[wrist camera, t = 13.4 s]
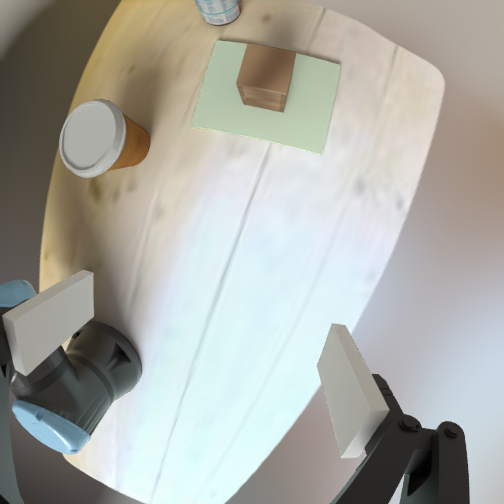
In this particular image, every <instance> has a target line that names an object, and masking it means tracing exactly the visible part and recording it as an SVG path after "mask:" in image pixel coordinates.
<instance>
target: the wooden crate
mask: <svg viewBox="0 0 504 504" xmlns="http://www.w3.org/2000/svg"><path fill="white" fill-rule="evenodd" d="M295 58H296V52H293V51H289V50H284V49H279V48H274V47H268V46H262V45H256V44H249V43H248V44H247V47H246V50H245V54H244V57H243V60H242V64H241V67H240V71H239V74H238V78H237V82H236V85H237V88H238V91H239V94H240V96H241V99H242V102H243V104H244V105H248V106H253V107H258V108H263V109H268V110H273V111H277V112H282V113H284V108H285V104H286V100H287V96H288V91H289V87H290V83H291V79H292V74H293V68H294V63H295Z"/></svg>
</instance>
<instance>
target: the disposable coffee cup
mask: <svg viewBox="0 0 504 504" xmlns="http://www.w3.org/2000/svg"><path fill="white" fill-rule="evenodd" d="M149 145H150V140H149V136H148V134H147V132H146V131H145V130H144V129H143V128H142V127H140V126H139V125H137V124H136V123H135V122H133V121H132V120H131V119H129V118H128V117H127V116H125V115H124V114H123V113H121V111H120V109H119V108H118V107H117V106H116V105H115V104H114V103H112V102H111V101H109V100H104V99H97V100H93V101H89V102H86V103H83V104H81V105H80V106H78V107H77V108H76V109H74V110H73V111H72V113H71V114H70V115H69V116H68V118H67V119H66V121H65V123H64V125H63V128H62V131H61V134H60V139H59V150H60V155H61V158H62V160H63V163H64V164H65V165H66V167H67V168H68V169H70V170H71V171H72V172H73V173H74V174H76V175H78V176H80V177H85V178H90V177H95V176H98V175H100V174H102V173H103V172H105V171H110V170H114V169H119V168H125V167H130V166H135V165H137V164H139V163H140V162H141V161H142V160H143V159H144V158H145V157H146V155H147V153H148V150H149Z"/></svg>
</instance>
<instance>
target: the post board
mask: <svg viewBox="0 0 504 504" xmlns="http://www.w3.org/2000/svg"><path fill="white" fill-rule="evenodd" d="M246 47H247V44H245V43H237V42H229V41H220V40H216V43H215V46H214V49H213V52H212V55H211V58H210V61H209V64H208V68H207V71H206V74H205V77H204V80H203V84H202V87H201V91H200V94H199V98H198V101H197V105H196V108H195V112H194V116H193V120H192V123H191V126H192V127H195V128H201V129H207V130H213V131H219V132H224V133H229V134H235V135H240V136H245V137H249V138H254V139H259V140H263V141H267V142H272V143H276V144H280V145H284V146H288V147H292V148H296V149H300V150H304V151H307V152H311V153H314V154H318V155H322V153H323V149H324V144H325V140H326V136H327V131H328V127H329V122H330V117H331V113H332V108H333V103H334V99H335V94H336V89H337V84H338V79H339V74H340V69H341V65H338V64H335V63H332V62H328V61H325V60H321V59H318V58H314V57H310V56H306V55H302V54H298V53H296V58H295V63H294V68H293V74H292V79H291V83H290V87H289V91H288V96H287V100H286V104H285V108H284V113H282V112H277V111H273V110H268V109H263V108H258V107H253V106H248V105H244V104H243V102H242V99H241V96H240V94H239V91H238V88H237V85H236V82H237V78H238V74H239V71H240V67H241V64H242V60H243V57H244V54H245V50H246Z"/></svg>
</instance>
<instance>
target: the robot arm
mask: <svg viewBox="0 0 504 504" xmlns="http://www.w3.org/2000/svg"><path fill="white" fill-rule="evenodd" d="M93 317H94V296H93V272H89V271H86V270H81V271H80V272H78V273H76V274H74V275H72V276H70V277H68V278H66V279H65V280H63V281H61V282H59V283H57V284H55V285H54V286H52V287H50V288H48V289H46V290H45V291H43V292H41V293H39V294H38V295H36V293H35V291H34V289H33V287H32V285H31V284H30V283H29V282H28V281H25V280H16V281H12V282H8V283H4V284H1V285H0V504H24V502H23V500H22V498H21V496H20V494H19V490H18V485H17V480H16V475H15V469H14V463H13V456H12V447H11V438H10V425H9V388H10V389H11V391H12V392H13V394H14V395H15V397H16V399H17V400H15V401H14V402H13V406H12V410H13V412H14V413H15V417H16V418H17V419H18V421H19V422H20V423H21V424H22V426H23V427H24V428H25V429H27V431H28V432H29V433H31V434H32V435H33V436H34V437H35V438H37V439H38V440H39V441H41V442H42V443H44V444H45V445H47V446H49V447H50V448H52V449H54V450H56V451H59V452H61V453H65V454H75V453H77V452H79V451H80V450H81V449H82V447H83V446H84V445H85V444H86V443H87V441H89V440H90V436H91V435H92V433H93V432H94V430H95V429H96V427H97V426H98V424H99V422H100V421H101V419H102V418H103V416H104V415H105V413H106V412H107V410H108V409H109V407H110V406H111V404H112V403H113V401H115V400H116V399H118V398H120V397H121V396H123V395H124V394H126V393H128V392H130V391H131V390H132V389H133V388H134V387H135V386H136V384H137V383H138V381H139V379H140V377H141V372H142V368H141V362H140V359H139V357H138V354H137V352H136V351H135V349H134V348H133V346H132V345H131V343H130V342H129V341H128V340H127V339H126V338H125V337H124V336H123V335H122V334H121V333H119V332H118V331H117V330H115V329H113V328H112V327H110V326H108V325H105V324H102V323H98V322H90V323H87V322H88V321H89V320H90V319H92V318H93ZM72 335H73V336H72ZM71 336H72V338H71V340H70V342H69V345H68V347H67V349H66V352H65V351H64V349H63V347H62V346H61V344H63V343H64V342H65V341H66V340H67V339H68V338H69V337H71ZM317 368H318V372H319V375H320V379H321V383H322V387H323V390H324V394H325V398H326V402H327V406H328V410H329V414H330V417H331V422H332V425H333V429H334V434H335V438H336V442H337V446H338V450H339V454H340V458H357V457H359V455H360V454H361V453H362V451H363V450H364V448H365V451H366V454H367V457H366V458H365V459H364V460H363V462H362V463H361V464H360V465H359V467H358V468H357V469H356V472H355V473H354V474H353V476H352V477H351V478H350V480H349V481H348V482H347V484H346V485H345V486H344V487H343V489H342V490H341V491H340V493H339V494H338V495H337V496H336V497H335V499H334V500H333V501H332V502H331V503H330V504H388V503H389V501H390V500H391V497H392V496H393V494H394V492H395V490H396V488H397V487H398V485H399V483H400V480H401V479H402V477H403V474H405V476H404V482H403V488H402V493H401V499H400V504H470V498H469V473H468V462H467V461H468V460H467V451H466V443H465V435H464V432H463V430H462V428H461V427H460V426H459V425H457V424H456V423H453V422H449V421H445V422H442V423H441V424H440V425H439V426H438V428H437V429H436V430H432V429H426V428H422V426H421V424H420V422H419V421H418V420H417V419H415V418H414V417H412V416H410V415H406V414H403V412H402V410H401V408H400V406H399V404H398V402H397V400H396V399H395V397H394V396H393V393H392V391H391V390H390V388H389V386H388V384H387V382H386V381H385V380H384V379H383V378H382V377H381V376H380V375H378V374H371V372H370V370H369V369H368V367H367V365H366V363H365V361H364V359H363V357H362V355H361V353H360V352H359V350H358V348H357V346H356V344H355V342H354V340H353V338H352V337H351V335H350V333H349V331H348V329H347V327H346V326H345V325H340V324H333V323H332V325H331V328H330V331H329V334H328V337H327V339H326V342H325V345H324V348H323V351H322V354H321V356H320V359H319V362H318V365H317Z"/></svg>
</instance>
